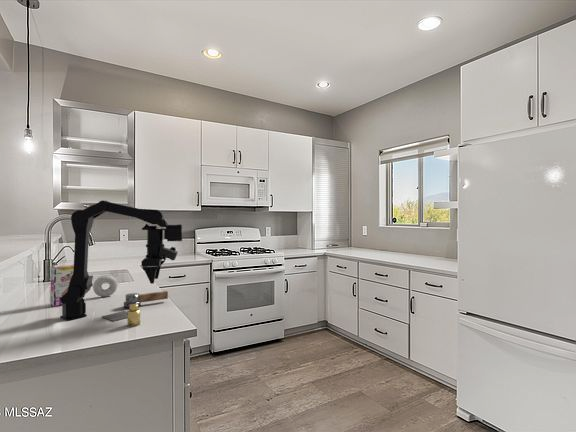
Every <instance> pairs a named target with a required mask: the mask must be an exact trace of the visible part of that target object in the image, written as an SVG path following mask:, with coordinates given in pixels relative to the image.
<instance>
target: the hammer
mask: <svg viewBox="0 0 576 432" xmlns="http://www.w3.org/2000/svg"><path fill="white" fill-rule="evenodd" d="M168 294H169V293H168V291H167V290H162V291H155V292H146V293H142V294H139V293H137V292H133V293H132V292H131V293H127V294H125V301H123V308H126V309H128V308H129V305H131V304H138V307H140V306H141V305H142V303H146V302H154V301H162V300H166V299H167V300H168V298H169V295H168Z"/></svg>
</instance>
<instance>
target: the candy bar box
mask: <svg viewBox="0 0 576 432" xmlns="http://www.w3.org/2000/svg"><path fill="white" fill-rule="evenodd" d="M73 270H74V263H69V264H59V265H50V275H49V276H50V285H49V288H50V289H49V295H50V296H49V305H50V306H51V307H60V306H61V307H62V302H61V300H60V298H61V297H62V296H63V295H64V294H65V293H67V292H68V286H69V282H70V280H71V277H72V275H73ZM82 299H84V297H83V298H82Z"/></svg>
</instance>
